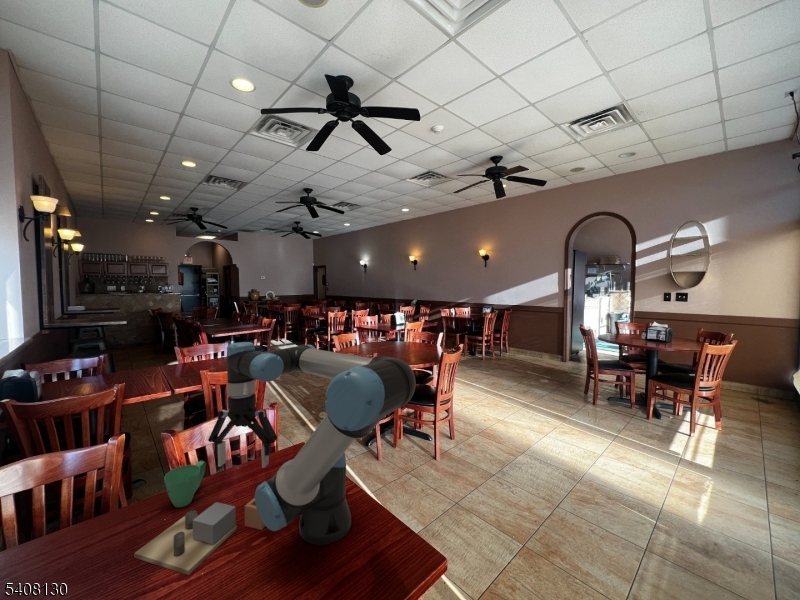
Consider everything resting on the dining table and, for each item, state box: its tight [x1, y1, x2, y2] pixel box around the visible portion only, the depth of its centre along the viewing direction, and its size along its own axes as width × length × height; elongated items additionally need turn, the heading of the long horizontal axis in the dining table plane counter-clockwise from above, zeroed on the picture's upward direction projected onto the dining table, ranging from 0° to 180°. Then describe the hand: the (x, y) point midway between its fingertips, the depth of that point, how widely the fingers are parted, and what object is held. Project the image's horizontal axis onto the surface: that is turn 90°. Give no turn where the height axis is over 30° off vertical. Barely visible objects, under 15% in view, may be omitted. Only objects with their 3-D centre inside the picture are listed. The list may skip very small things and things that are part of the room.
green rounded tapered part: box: [163, 460, 207, 508], centre depth 110 cm, size 15×10×10 cm
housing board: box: [133, 509, 238, 576], centre depth 91 cm, size 18×16×6 cm
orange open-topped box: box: [244, 496, 266, 531], centre depth 100 cm, size 6×6×6 cm
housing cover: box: [193, 501, 237, 544], centre depth 94 cm, size 7×8×5 cm
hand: (243, 464), depth 99 cm, fingers open, 13 cm apart
